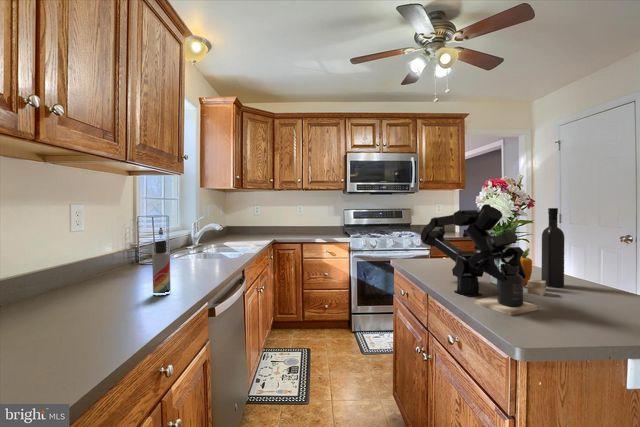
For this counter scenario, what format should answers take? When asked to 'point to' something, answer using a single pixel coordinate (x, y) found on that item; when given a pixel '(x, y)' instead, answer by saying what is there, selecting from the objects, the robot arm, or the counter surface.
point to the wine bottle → (553, 252)
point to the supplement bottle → (510, 286)
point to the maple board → (493, 304)
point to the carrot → (526, 266)
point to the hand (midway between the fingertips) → (514, 279)
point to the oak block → (536, 287)
